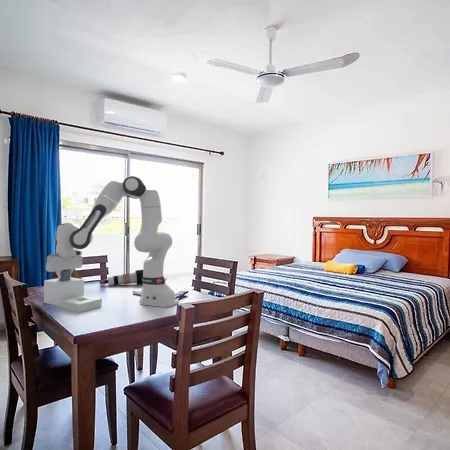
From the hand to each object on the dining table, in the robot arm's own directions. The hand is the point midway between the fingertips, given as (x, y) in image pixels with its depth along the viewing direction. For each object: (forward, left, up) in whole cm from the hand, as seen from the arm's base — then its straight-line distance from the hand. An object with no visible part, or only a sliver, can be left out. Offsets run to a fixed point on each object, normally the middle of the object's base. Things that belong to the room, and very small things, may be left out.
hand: (64, 277), depth 184 cm
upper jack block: (0, 0, -13) cm, 13 cm away
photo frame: (+24, -23, -13) cm, 36 cm away
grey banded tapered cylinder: (+5, -52, -14) cm, 54 cm away
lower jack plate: (-16, +2, -13) cm, 21 cm away
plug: (0, 0, -4) cm, 4 cm away
